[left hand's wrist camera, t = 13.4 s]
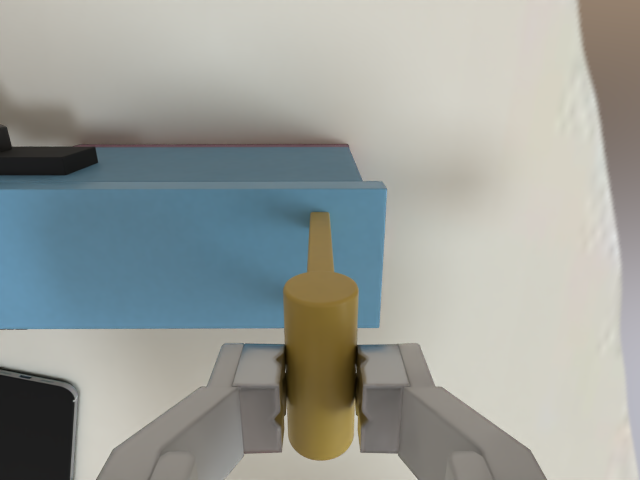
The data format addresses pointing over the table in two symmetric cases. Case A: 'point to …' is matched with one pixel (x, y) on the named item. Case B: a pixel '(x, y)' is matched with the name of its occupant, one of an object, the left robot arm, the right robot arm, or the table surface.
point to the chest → (211, 164)
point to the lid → (208, 272)
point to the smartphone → (36, 427)
